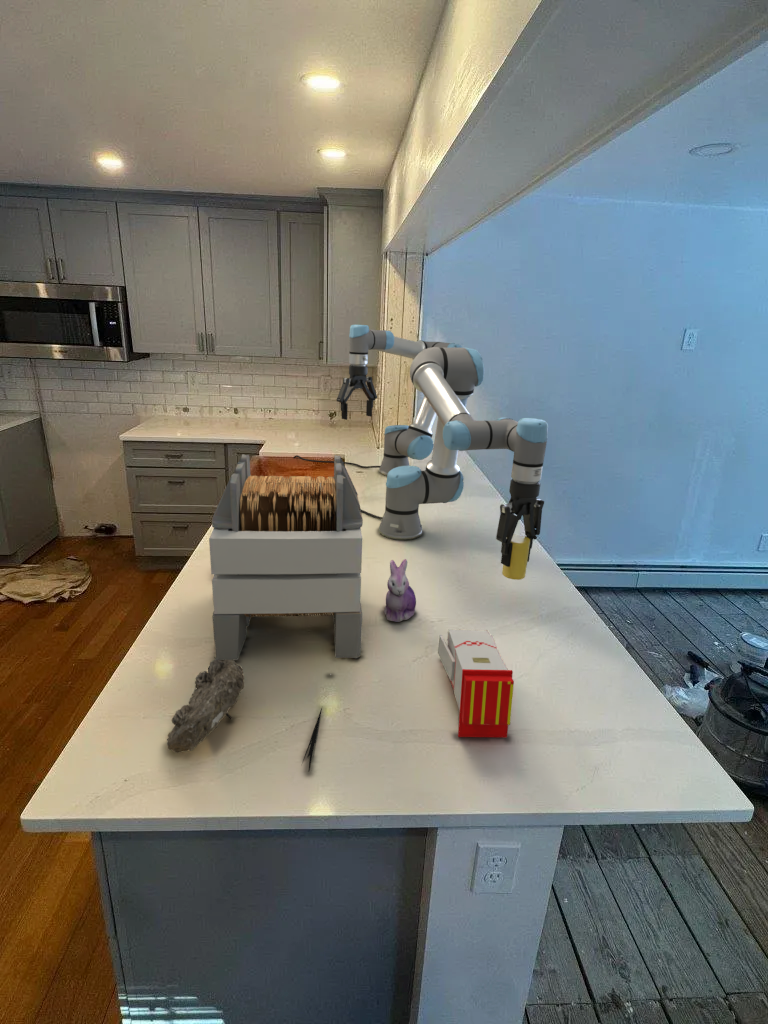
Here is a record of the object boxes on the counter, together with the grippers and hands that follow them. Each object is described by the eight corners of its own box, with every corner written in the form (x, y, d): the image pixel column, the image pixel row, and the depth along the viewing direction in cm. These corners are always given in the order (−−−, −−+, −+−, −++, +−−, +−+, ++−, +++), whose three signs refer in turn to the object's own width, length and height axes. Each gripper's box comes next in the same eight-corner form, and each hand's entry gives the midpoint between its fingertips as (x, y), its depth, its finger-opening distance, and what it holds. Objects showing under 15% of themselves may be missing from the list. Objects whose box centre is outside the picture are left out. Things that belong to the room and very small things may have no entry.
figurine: (392, 627, 141) (395, 572, 136) (374, 608, 149) (376, 556, 144) (425, 619, 145) (429, 566, 140) (405, 601, 154) (408, 550, 149)
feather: (331, 679, 122) (336, 673, 122) (307, 777, 96) (313, 769, 95) (324, 675, 122) (329, 669, 121) (298, 772, 95) (304, 764, 95)
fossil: (192, 660, 117) (244, 628, 112) (224, 691, 120) (276, 661, 115) (142, 746, 98) (202, 712, 93) (182, 779, 101) (242, 748, 96)
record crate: (234, 590, 156) (226, 444, 142) (353, 588, 159) (357, 447, 146) (212, 662, 124) (200, 485, 110) (361, 659, 128) (367, 486, 114)
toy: (488, 613, 130) (523, 677, 101) (484, 667, 133) (517, 744, 104) (435, 612, 130) (455, 676, 101) (432, 666, 133) (451, 743, 103)
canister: (529, 574, 154) (534, 538, 151) (519, 581, 150) (524, 545, 146) (508, 567, 158) (512, 532, 154) (498, 574, 153) (502, 538, 150)
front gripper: (507, 488, 137) (497, 574, 145) (563, 479, 147) (550, 561, 154) (487, 480, 143) (478, 563, 151) (541, 472, 153) (530, 551, 160)
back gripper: (340, 367, 217) (339, 422, 224) (386, 364, 234) (384, 416, 241) (328, 365, 222) (327, 419, 229) (374, 363, 239) (372, 413, 246)
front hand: (514, 562), depth 153 cm, fingers closed on canister, 6 cm apart
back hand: (356, 417), depth 235 cm, fingers open, 13 cm apart
